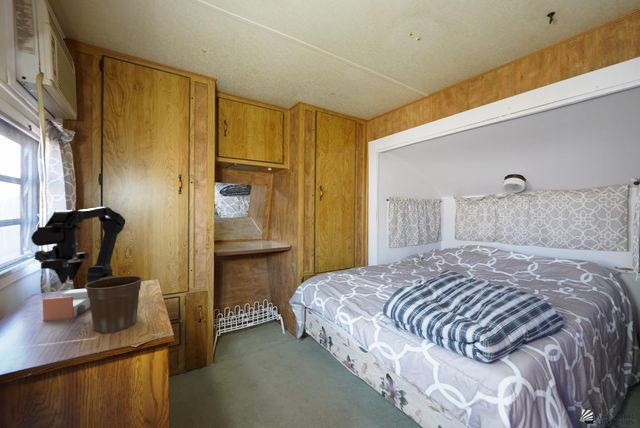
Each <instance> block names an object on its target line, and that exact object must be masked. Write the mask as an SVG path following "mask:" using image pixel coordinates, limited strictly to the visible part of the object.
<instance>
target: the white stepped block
mask: <svg viewBox="0 0 640 428" xmlns="http://www.w3.org/2000/svg"><path fill="white" fill-rule="evenodd" d="M72 296H73V316H74V318H75V317H76V316H78V315H83V314H84V313H85V311H86V310H87V309H89V308H91V307H90V299H89V298H88V294H87V289H86V288H79V289H69V290H66V291H65V292H62V293H61V297H72Z"/></svg>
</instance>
